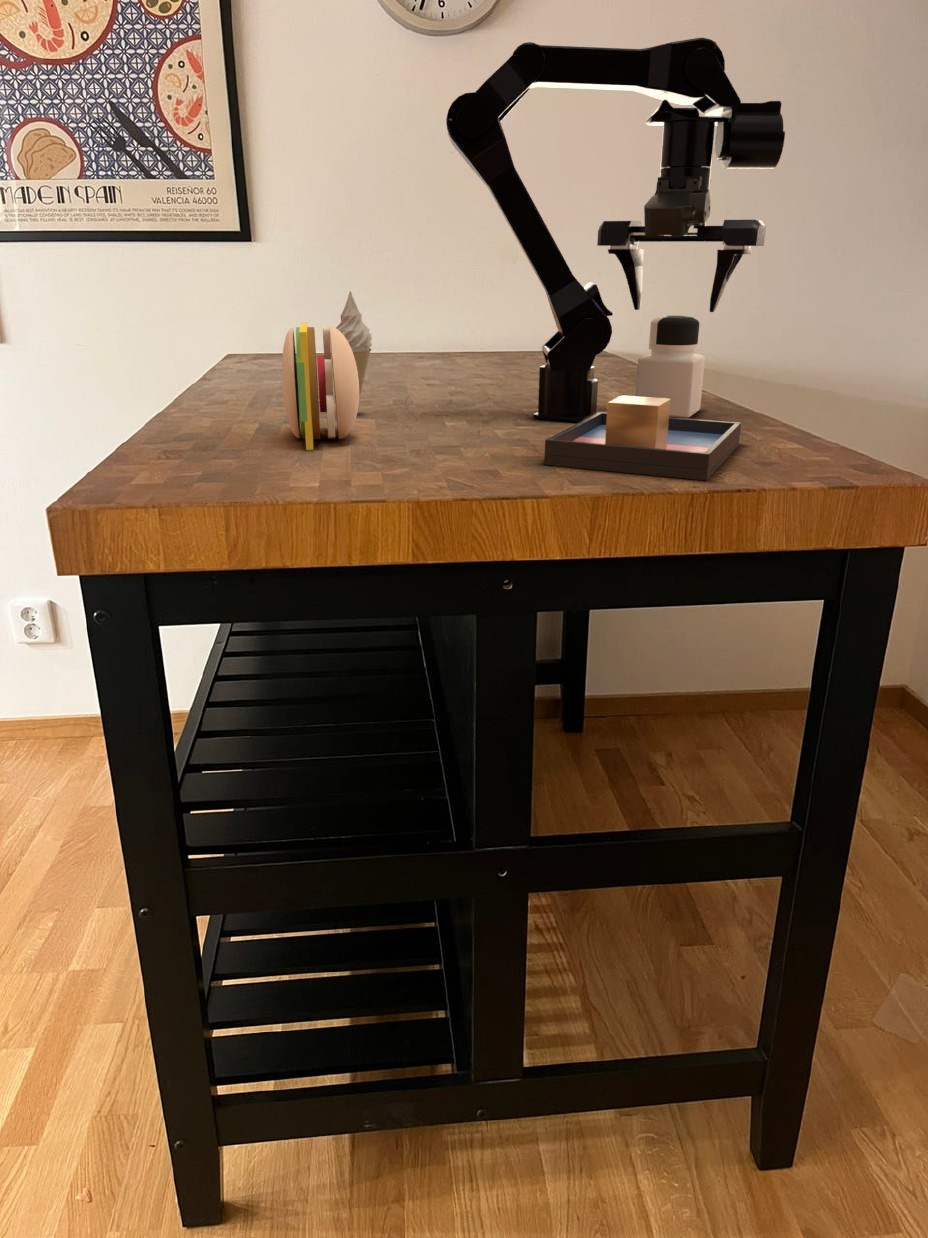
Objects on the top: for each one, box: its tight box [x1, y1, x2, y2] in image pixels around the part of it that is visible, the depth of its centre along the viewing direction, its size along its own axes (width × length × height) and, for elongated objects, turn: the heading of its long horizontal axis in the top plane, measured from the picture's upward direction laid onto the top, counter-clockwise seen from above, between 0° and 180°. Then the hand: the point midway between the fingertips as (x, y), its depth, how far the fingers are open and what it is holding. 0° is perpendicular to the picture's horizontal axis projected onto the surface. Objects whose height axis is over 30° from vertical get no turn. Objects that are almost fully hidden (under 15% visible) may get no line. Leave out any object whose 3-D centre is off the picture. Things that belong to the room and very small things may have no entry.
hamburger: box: [281, 322, 360, 451], centre depth 102 cm, size 12×8×12 cm
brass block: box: [605, 394, 671, 449], centre depth 92 cm, size 5×5×5 cm
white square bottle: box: [635, 315, 706, 419], centre depth 119 cm, size 7×7×12 cm
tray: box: [543, 411, 742, 481], centre depth 96 cm, size 16×18×2 cm
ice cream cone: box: [335, 290, 373, 400], centre depth 116 cm, size 5×5×15 cm
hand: (673, 310), depth 113 cm, fingers open, 9 cm apart
